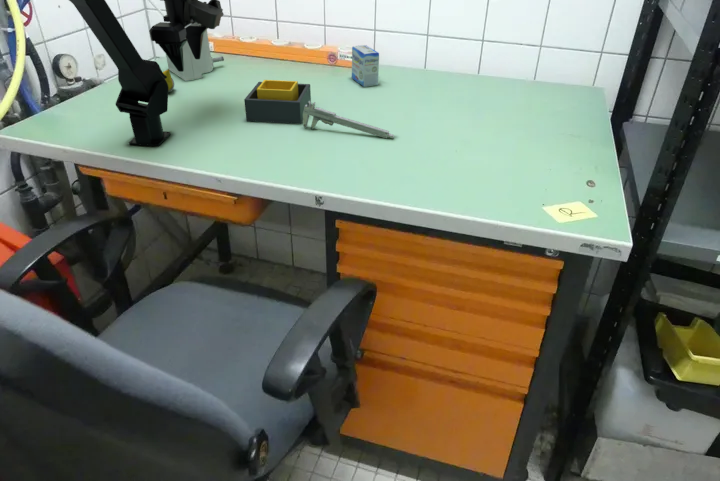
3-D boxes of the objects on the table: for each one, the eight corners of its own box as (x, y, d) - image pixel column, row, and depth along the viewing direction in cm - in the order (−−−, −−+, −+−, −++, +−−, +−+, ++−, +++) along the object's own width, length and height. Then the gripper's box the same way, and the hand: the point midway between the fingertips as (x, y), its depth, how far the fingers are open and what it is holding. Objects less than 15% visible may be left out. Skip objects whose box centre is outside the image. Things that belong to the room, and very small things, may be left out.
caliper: (303, 128, 117) (301, 101, 114) (305, 126, 118) (303, 99, 115) (393, 139, 113) (394, 111, 109) (394, 137, 114) (395, 109, 110)
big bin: (301, 124, 119) (299, 102, 116) (246, 121, 120) (244, 99, 118) (311, 104, 129) (310, 84, 126) (260, 102, 130) (258, 81, 127)
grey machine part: (168, 69, 150) (157, 13, 142) (214, 61, 157) (207, 7, 149) (185, 81, 142) (174, 22, 134) (233, 71, 149) (226, 15, 141)
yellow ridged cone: (174, 88, 139) (183, 68, 131) (164, 102, 137) (173, 83, 129) (155, 76, 137) (163, 55, 129) (145, 90, 135) (153, 70, 127)
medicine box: (351, 78, 145) (351, 46, 140) (365, 76, 147) (366, 44, 142) (363, 87, 139) (364, 54, 134) (378, 85, 141) (379, 52, 136)
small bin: (293, 116, 122) (291, 90, 118) (259, 114, 122) (256, 89, 119) (299, 105, 127) (297, 81, 123) (266, 104, 127) (264, 79, 124)
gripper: (196, -2, 100) (208, 80, 109) (229, -19, 115) (238, 55, 124) (140, -4, 101) (157, 77, 110) (181, -20, 116) (193, 52, 125)
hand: (189, 65), depth 117 cm, fingers open, 9 cm apart
